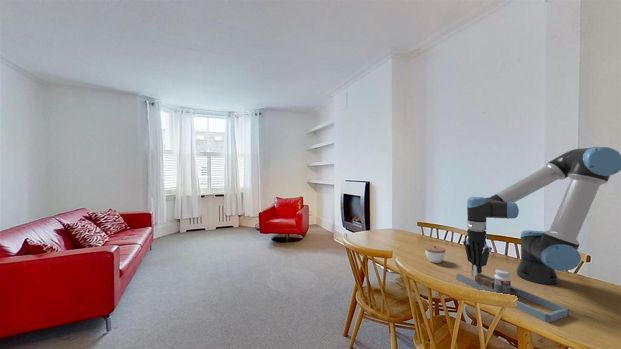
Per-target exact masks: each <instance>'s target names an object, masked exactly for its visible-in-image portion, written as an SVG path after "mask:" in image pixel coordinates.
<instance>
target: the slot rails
mask: <svg viewBox="0 0 621 349" xmlns="http://www.w3.org/2000/svg"><path fill="white" fill-rule="evenodd" d="M470 273H471V274H470V276H471V277H473V270H471V272H470ZM480 274H482V275H485V276H487V277H489V278H492V279H494V277H491V276H488V275H486V274H483V273H480ZM455 277H456V280H457V281H459V282H461V283H464V284H465V285H467V286H469V287H471V288H473V289H476V290H478V289H479V290H478V291H480V290H485V291H490V292H496V293H502V292H500V291H497V290H495V289H493V288H491V287H488V286H486V285H484V284H481V283H479V282H477V281H475V279H472V278H470V277H468V276H466V275H464V274H461V273H456V276H455ZM517 288H518V287H516V286H514V285H511V294H512V295H514V296H515V295H516V289H517Z"/></svg>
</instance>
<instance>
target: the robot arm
mask: <svg viewBox="0 0 621 349" xmlns="http://www.w3.org/2000/svg"><path fill="white" fill-rule="evenodd" d="M619 172H621V153H620V152H619V151H618V150H616V149H615V148H612V147H608V146H592V147H584V148H575V149H571V150H568V151H566V152H565V153H562V154H561V155H559V156H557V157H556V158H554V159H552V160H550V161H548V162H546V163H545V166H544V167H542V168H540V169H538V170H536V171H535V172H533V173H531V174H529V175H528V176H526V177H524V178H522V179H521V180H519V181H517V182H515V183H514V184H511V185H510V186H508V187H506V188H505V189H503V190H501V191H499V192H497V193H496V194H493V195H492V196H489V197H483V196H470V197H468V198H467V205H466V210H467V222H466V223H467V226H466V227H467V232H466V233H467V239H466V240H463V241H462V243H463V245H464V248H465V253H466V257H467V261H468V262H469V263H471V271H473V280H475V275H480V273H481V274H483V273H482V272H483V267H486V266H487V265H488V260H489V255H490V252H492V249H493V248H492V247H490V246H488V245H487V241H486V239H487V231H486V230H487V218H489V219H491V218H493V219H516V218H518V216H519V211H520V210H519V206H518V204H517V203H516V202H517V201H520V200H522V199H524V198H526V197H528V196H529V195H531V194H533V193H535V192H537V191H539V190H540V189H543V188H545V187H546V186H548V185H550V184H552V183H554V182H556V181H558V180H559V181H561V180H562V181H563V180H565V179H567V178H569V179H570V180H569V182H568V186H567V187H566V190H565V192H564V195H563V198H562V200H561V202H560V204H559V206H558V210H557V211H556V214H555V216H554V219H553V221H552V222H551V225H550V228H549V230H546V231H543V230H522V231H520V232H521V233H520V261H519V263H518V265H517V268H516V275H517V276H518V277H520V278H522V279H523V280H527V281H529V282H533V283H537V284H541V285H543V284H544V285H556V284H558V283H559V277H558V274H557V271H560V272H567V271H572V270H573V269H575V268H577V267H578V266H579V265H580V263H581V261H582V256H581V254H580V252H579V247H580V242H579V240H578V239H577V238H578V236H579V234H580V232H581V229H582V228H583V224H584V222H585V220H586V218H587V216H588V214H589V212H590V209H591V206H592V204H593V202H594V199H595V197H596V195H597V193H598V191H599V189H600V186H602V185H605V184H607V183H608V181H609V180H610V177H611V176H612V175H615V174H618V173H619Z"/></svg>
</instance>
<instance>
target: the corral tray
mask: <svg viewBox="0 0 621 349" xmlns="http://www.w3.org/2000/svg"><path fill="white" fill-rule="evenodd" d="M516 288H517V289H516V295H517V296H519V297H521V298H524V299H526V300H528V301H530V302H533V303H535V304H538V305H541V306H543V307H545V308H547V309H550V310H551V309H552V310H551V311H552V312H551V311H550V312H548V313H546V312H544V311H541V310H539V309H536V308H535V307H532V306H530V305H528V304H525V303H524V302H521V301H518V300H517V307H515V308H516V309H518V310H520V311H522V312H525V313H526V314H529V315H530V316H532V315H533V317H534V318H536V319H539V320H541V321H544V322H546V323H547V324H548V323H553V322H555V321H558V320H561V319H563V317H564V318H567V317H569V316H570V309H569V308H567V307H565V306H563V305H560V304H557V303H555V302H553V301H550V300H547V299H546V298H543V297H540V296H537V295H535V294H533V293H531V292H527V291H525V290H523V289H521V288H518V287H516ZM566 316H567V317H566ZM560 318H561V319H560ZM557 319H558V320H557ZM552 321H553V322H552Z"/></svg>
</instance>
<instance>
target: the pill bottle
mask: <svg viewBox="0 0 621 349" xmlns="http://www.w3.org/2000/svg"><path fill="white" fill-rule="evenodd" d="M493 278H494V289H495V290H497V291H500V292H502V293H503V294H512V293H511V286H512V284H511V277H510V272H509V271H508V270H505V269H500V268H498V269H495V274H494V275H493Z"/></svg>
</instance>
